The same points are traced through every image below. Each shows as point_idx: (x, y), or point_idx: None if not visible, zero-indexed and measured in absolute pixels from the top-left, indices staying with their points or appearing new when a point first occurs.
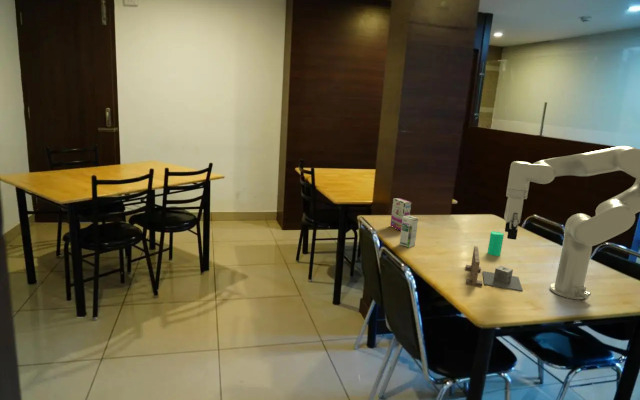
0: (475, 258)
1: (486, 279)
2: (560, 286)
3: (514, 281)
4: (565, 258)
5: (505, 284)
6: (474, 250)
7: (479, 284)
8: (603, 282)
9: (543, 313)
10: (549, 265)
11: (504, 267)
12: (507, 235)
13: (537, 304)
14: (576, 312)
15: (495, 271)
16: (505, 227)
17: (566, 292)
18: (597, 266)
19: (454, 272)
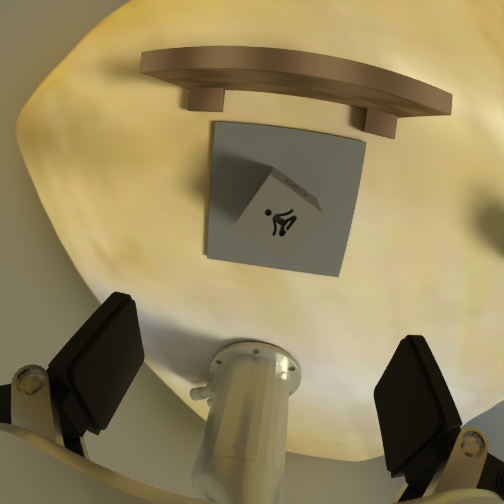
0: (196, 47)
1: (266, 136)
2: (231, 369)
3: None
4: (214, 446)
5: (238, 206)
6: (377, 68)
7: (190, 100)
8: (343, 436)
9: (90, 268)
10: None
11: (300, 225)
12: (112, 308)
13: (131, 271)
14: None
15: (269, 174)
16: (425, 368)
17: (222, 369)
18: None
19: (313, 21)
